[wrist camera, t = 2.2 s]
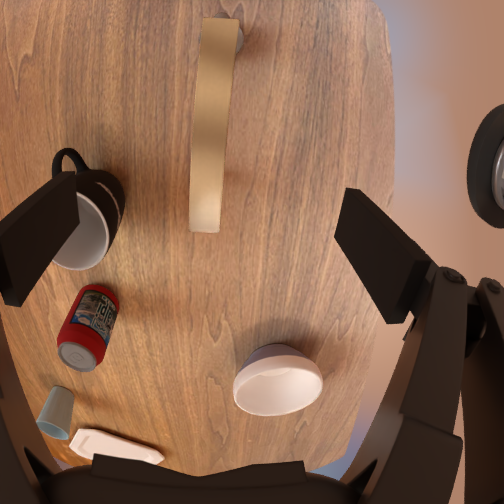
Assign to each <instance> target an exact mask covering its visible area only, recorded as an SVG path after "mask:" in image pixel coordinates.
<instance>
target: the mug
mask: <svg viewBox="0 0 504 504" xmlns="http://www.w3.org/2000/svg"><path fill="white" fill-rule="evenodd" d="M64 155H67V156H69V157H70V158H71V159H72V161H73V162H74V164H75V166H76V169H77V173H76V175H75V178H76V191H77V201H78V210H79V219H80V224H79V225H78V226H77V228H76V229H75V230H74V232H73V233H72V234H71V235H70V237H69V238H68V239H67V241H66V242H65V243H64V245H63V246H62V247H61V249H60V250H59V251H58V253H57V254H56V255H55V257H54V258H53V260H52V261H53V262H54V263H56V264H57V265H59V266H61V267H64V268H67V269H70V270H86V269H90V268H92V267H94V266H96V265H97V264H98V263H99V262H100V261H101V260H102V259H103V258H104V257H105V255H106V254H107V252H108V250H109V248H110V246H111V244H112V242H113V240H114V238H115V235H116V233H117V230H118V228H119V225H120V222H121V219H122V216H123V212H124V207H125V195H124V191H123V188H122V186H121V184H120V182H119V181H118V180H117V179H116V178H115V177H114V176H113V175H112V174H110V173H108V172H106V171H103V170H92V169H89V168H88V167H87V165H86V164H85V162H84V160H83V159H82V157H81V156H80V154H79V153H78V152H77V151H76V150H74V149H72V148H64V149H62V150H60V151H59V152H58V153H57V154H56V155H55V157H54V159H53V163H52V178H54V177H55V176H56V175H58V174H59V173H60V172H62V159H63V157H64Z"/></svg>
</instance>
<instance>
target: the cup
mask: <svg viewBox="0 0 504 504" xmlns="http://www.w3.org/2000/svg"><path fill="white" fill-rule="evenodd" d="M73 404H74V395H73V394H72V393H71V392H70V391H69V390H67V389H66V388H63V387H60V386H54V387H53V388H52V390H51V392H50V394H49V396H48V398H47V400H46V402H45V404H44V406H43V409H42V411H41V413H40V415H39V417H38V419H37V421H36V423H37V426H38V428H39V429H40V430H41V431H43V432H44V433H46V434H47V435H49V436H52V437H54V438H57V439H62V440H66V439H68V438H69V433H70V424H71V417H72V410H73Z"/></svg>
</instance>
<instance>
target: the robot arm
mask: <svg viewBox="0 0 504 504" xmlns="http://www.w3.org/2000/svg"><path fill="white" fill-rule="evenodd" d="M491 189H492V194H493V197H494V200H495V202H496V203H497V204H498V206H499V207H501V208H502V209H504V138H503V139H502V141H501V143H500V144H499V146H498V148H497V151H496V153H495V156H494V160H493V164H492V170H491ZM79 224H80V219H79V210H78V201H77V191H76V178H75V171H65V172H60V173H59V174H58V175H56V176H55V177H54V178H52V179H51V180H50V181H48V182H47V183H46V184H44V185H43V186H42V187H41V188H39V189H38V190H37V191H36V192H34V193H33V194H32V195H31V196H29V197H28V198H27V199H26V200H24V201H23V202H22V203H21V204H20V205H18V206H17V207H16V208H15V209H14V210H13V211H11V212H10V213H9V214H8V215H7V216H6V217H5V218H3V219H2V220H1V221H0V292H1V295H2V297H3V300H4V303H5V305H10V306H16V307H21V306H22V304H23V303H24V301H25V300H26V298H27V296H28V295H29V293H30V292H31V290H32V289H33V287H34V286H35V284H36V283H37V281H38V280H39V278H40V277H41V275H42V274H43V272H44V271H45V269H46V268H47V267H48V265H49V264H50V262H51V261H52V260H53V258H54V257H55V255H56V254H57V253H58V251H59V250H60V249H61V247H62V246H63V245H64V243H65V242H66V241H67V239H68V238H69V237H70V235H71V234H72V233H73V232H74V230H75V229H76V228H77V226H78V225H79ZM334 238H335V240H336V241H337V243H338V244H339V246H340V247H341V249H342V251H343V252H344V254H345V255H346V257H347V258H348V260H349V262H350V263H351V265H352V266H353V268H354V270H355V271H356V273H357V275H358V276H359V278H360V280H361V281H362V283H363V284H364V286H365V288H366V289H367V291H368V293H369V294H370V296H371V298H372V300H373V301H374V303H375V305H376V306H377V308H378V310H379V311H380V313H381V315H382V317H383V318H384V320H385V322H386V324H399V323H404V321H405V319H406V317H407V315H408V313H409V311H411V313H412V314H413V316H414V319H413V321H412V323H411V325H410V326H409V328H408V330H407V332H406V334H405V336H404V338H403V340H404V341H405V343H404V345H403V348H402V351H401V354H400V357H399V359H398V362H397V365H396V368H395V370H394V373H393V375H392V378H391V380H390V383H389V385H388V388H387V390H386V392H385V395H384V397H383V400H382V402H381V404H380V407H379V409H378V411H377V413H376V415H375V418H374V420H373V422H372V424H371V426H370V428H369V431H368V433H367V435H366V437H365V439H364V441H363V443H362V445H361V447H360V448H359V450H358V452H357V454H356V456H355V458H354V460H353V462H352V464H351V465H350V467H349V468H348V470H347V471H346V473H345V474H344V475H343V476H342V478H341V479H340V480H339V481H338V480H336V479H333V478H330V477H327V476H324V475H320V474H315V473H310V472H305V467H304V462H303V460H302V461H293V462H282V463H269V464H252V465H248V466H245V467H241V468H237V469H233V470H229V471H225V472H220V473H216V474H211V475H206V476H199V477H197V476H191V475H187V474H184V473H180V472H177V471H173V470H170V469H167V468H164V467H161V466H158V465H155V464H152V463H149V462H146V461H143V460H135V459H128V458H121V457H114V456H108V455H103V454H97V453H94V454H93V460H92V465H83V466H77V467H73V468H70V469H66V470H64V471H62V469H61V468H60V466H59V465H58V464H57V462H56V461H55V460H54V458H53V456H52V454H51V453H50V451H49V449H48V447H47V445H46V443H45V441H44V439H43V436H42V434H41V432H40V430H39V428H38V426H37V423H36V421H35V419H34V416H33V414H32V412H31V409H30V407H29V404H28V402H27V399H26V397H25V394H24V391H23V389H22V386H21V383H20V380H19V378H18V375H17V372H16V369H15V366H14V362H13V359H12V356H11V353H10V349H9V346H8V342H7V339H6V335H5V331H4V327H3V323H2V319H1V314H0V504H448V503H449V499H450V497H451V493H452V490H453V486H454V482H455V479H456V475H457V471H458V467H459V463H460V459H461V454H462V449H463V440H462V439H461V437H459V436H456V435H454V434H453V430H454V425H455V420H456V414H457V409H458V403H459V397H460V390H461V397H462V407H463V420H464V437H465V493H464V496H465V497H464V501H465V502H464V504H504V288H503V287H502V286H501V284H500V283H499V282H497V281H496V280H494V279H493V280H492V279H490V278H486V277H485V278H482V279H481V281H480V283H479V285H478V287H477V288H475V287H472V286H468V285H467V281H466V279H465V278H464V277H463V276H462V275H461V274H460V273H459V272H457V271H456V270H454V269H451V268H448V267H438V265H437V264H436V263H435V262H434V261H433V260H432V259H431V258H430V257H429V256H428V255H427V254H426V253H425V251H424V250H423V249H421V247H420V246H419V245H418V244H417V243H416V242H415V241H413V240H412V239H411V238H410V237H409V236H408V235H407V234H405V232H403V230H402V229H401V228H400V227H399V226H398V225H397V224H396V223H395V222H393V220H392V219H391V218H389V217H388V216H387V215H386V214H385V213H384V212H383V211H382V210H381V209H380V208H379V207H378V206H377V205H376V204H375V203H374V202H373V201H372V200H371V199H369V198H368V197H367V196H366V195H365V194H364V193H363V192H362V191H361V190H359V189H352V188H346V190H345V194H344V198H343V203H342V207H341V211H340V215H339V219H338V223H337V227H336V231H335V235H334Z"/></svg>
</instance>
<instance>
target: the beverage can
mask: <svg viewBox="0 0 504 504" xmlns="http://www.w3.org/2000/svg"><path fill="white" fill-rule="evenodd" d="M118 311H119V303H118V300H117V298H116V297H115V295H114V294H113V293H112V292H111V291H110V290H108V289H107V288H105V287H103V286H100V285H87V286H85V287H83V288H82V289H81V290H80V292H79V293H78V295H77V297H76V299H75V301H74V303H73V305H72V307H71V309H70V311H69V313H68V315H67V317H66V319H65V321H64V323H63V326H62V328H61V330H60V332H59V335H58V337H57V346H58V355H59V357H60V359H61V360H62V362H63V363H65V364H66V365H67V366H69V367H70V368H72V369H74V370H77V371H80V372H90V371H92V370H94V369H95V367H96V366H97V365H99V364H100V363H101V362H102V361H103V359H104V355H105V352H106V349H107V346H108V343H109V339H110V336H111V333H112V330H113V327H114V324H115V320H116V317H117V314H118Z"/></svg>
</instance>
